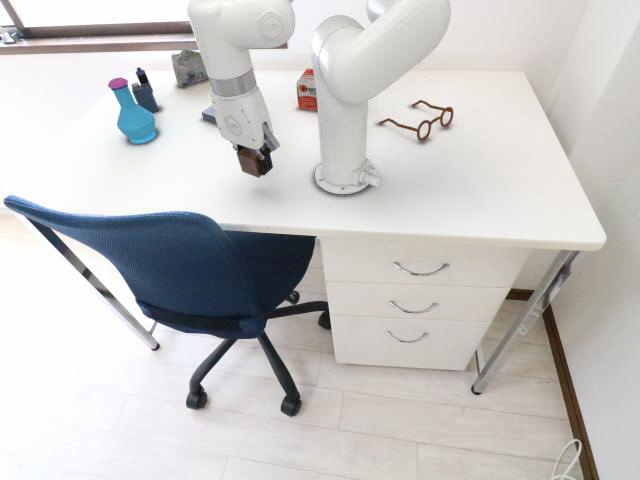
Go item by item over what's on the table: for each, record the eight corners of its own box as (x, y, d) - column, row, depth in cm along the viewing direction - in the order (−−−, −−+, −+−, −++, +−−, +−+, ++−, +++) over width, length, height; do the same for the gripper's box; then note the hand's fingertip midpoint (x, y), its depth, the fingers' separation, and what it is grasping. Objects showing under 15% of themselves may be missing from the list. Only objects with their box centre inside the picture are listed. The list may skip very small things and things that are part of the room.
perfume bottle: (150, 147, 95) (123, 91, 84) (118, 145, 97) (88, 89, 86) (166, 127, 101) (144, 72, 90) (136, 125, 103) (110, 71, 91)
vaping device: (160, 110, 107) (143, 69, 99) (142, 115, 106) (123, 73, 97) (160, 106, 109) (143, 65, 100) (141, 111, 108) (122, 69, 99)
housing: (263, 114, 103) (261, 101, 100) (239, 132, 97) (236, 118, 94) (228, 103, 108) (224, 90, 105) (203, 119, 103) (199, 106, 100)
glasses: (418, 145, 89) (421, 126, 85) (378, 124, 96) (379, 106, 92) (452, 124, 94) (457, 105, 90) (413, 105, 101) (415, 87, 97)
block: (272, 165, 76) (268, 146, 73) (258, 178, 74) (253, 159, 71) (256, 159, 78) (251, 141, 75) (242, 171, 76) (236, 153, 72)
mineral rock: (223, 74, 121) (215, 41, 114) (211, 90, 114) (202, 56, 107) (187, 73, 123) (176, 41, 116) (173, 88, 116) (161, 55, 109)
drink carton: (298, 109, 103) (295, 81, 97) (308, 95, 108) (305, 67, 102) (351, 115, 100) (351, 86, 94) (358, 100, 105) (359, 72, 99)
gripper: (182, 81, 64) (215, 166, 78) (256, 101, 57) (278, 191, 70) (213, 62, 68) (239, 147, 81) (286, 79, 60) (301, 169, 74)
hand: (257, 166), depth 76 cm, fingers closed on block, 4 cm apart
